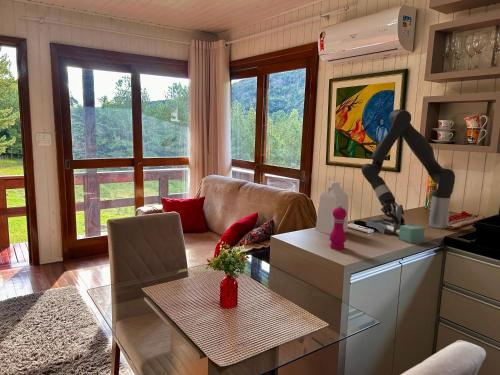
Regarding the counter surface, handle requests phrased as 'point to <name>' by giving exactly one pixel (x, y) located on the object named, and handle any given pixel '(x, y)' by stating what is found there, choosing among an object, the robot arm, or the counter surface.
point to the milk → (331, 208)
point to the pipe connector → (391, 221)
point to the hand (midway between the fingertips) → (400, 223)
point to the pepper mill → (338, 229)
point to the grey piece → (396, 226)
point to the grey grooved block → (379, 224)
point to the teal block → (411, 233)
